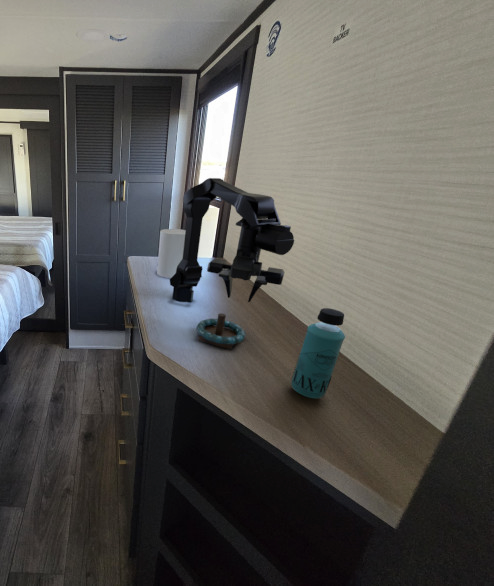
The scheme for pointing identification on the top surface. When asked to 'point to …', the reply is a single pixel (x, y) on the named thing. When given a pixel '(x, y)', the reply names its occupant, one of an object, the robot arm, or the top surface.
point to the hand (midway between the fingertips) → (238, 299)
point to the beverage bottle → (319, 354)
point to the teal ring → (219, 339)
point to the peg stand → (219, 332)
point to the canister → (170, 251)
